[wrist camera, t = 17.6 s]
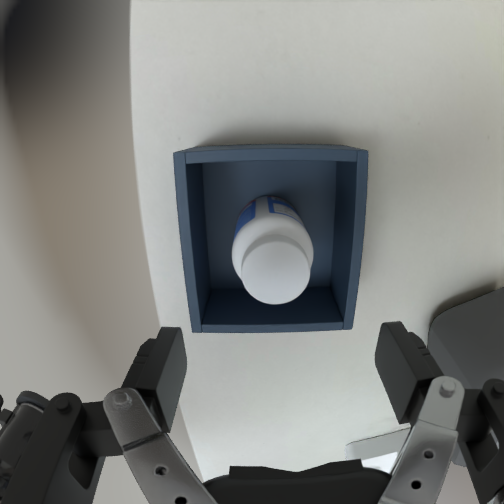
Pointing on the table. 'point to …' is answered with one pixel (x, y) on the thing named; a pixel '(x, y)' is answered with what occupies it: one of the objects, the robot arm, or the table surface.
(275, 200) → the pill bottle
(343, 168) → the open box
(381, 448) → the white slotted bracket
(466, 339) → the alarm clock
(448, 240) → the table surface
